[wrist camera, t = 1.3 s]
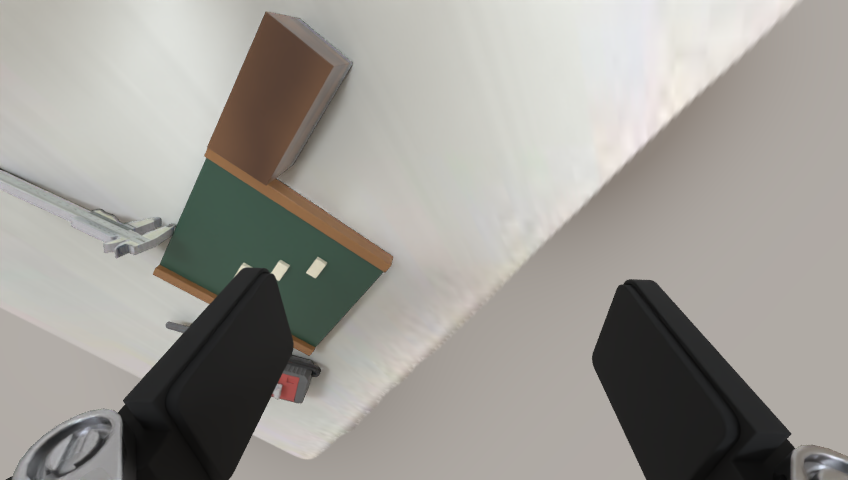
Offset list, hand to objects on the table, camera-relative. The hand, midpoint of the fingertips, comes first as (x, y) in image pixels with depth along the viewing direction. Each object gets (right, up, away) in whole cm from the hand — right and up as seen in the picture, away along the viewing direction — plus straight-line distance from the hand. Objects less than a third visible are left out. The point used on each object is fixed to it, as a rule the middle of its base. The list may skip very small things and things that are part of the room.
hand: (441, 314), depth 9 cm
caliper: (-37, +7, +26) cm, 45 cm away
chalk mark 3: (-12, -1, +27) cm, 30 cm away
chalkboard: (-17, 0, +28) cm, 33 cm away
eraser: (-12, +14, +19) cm, 27 cm away
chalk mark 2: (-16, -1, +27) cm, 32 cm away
